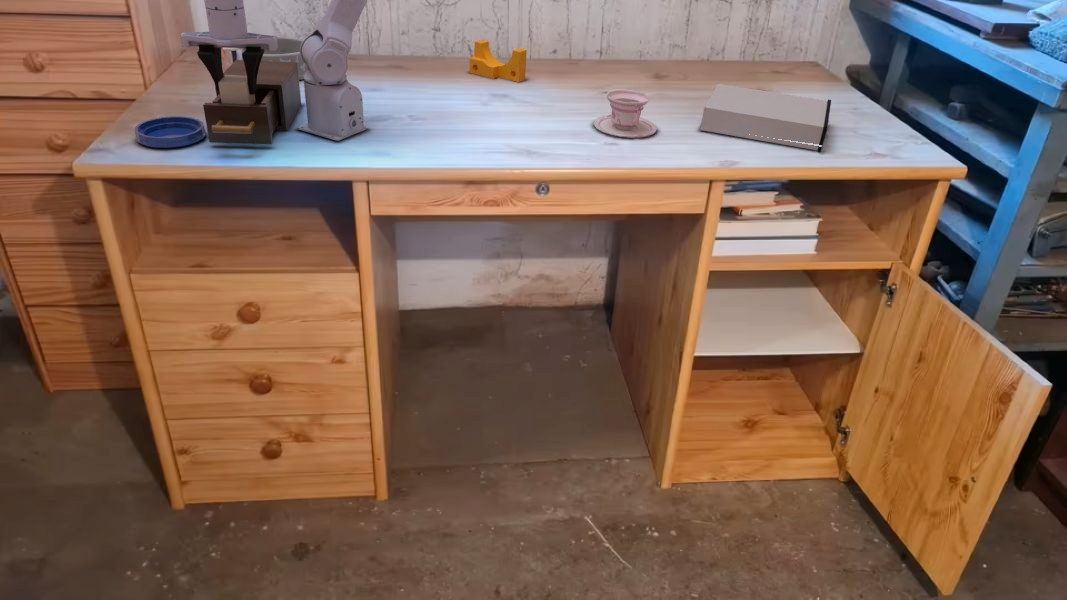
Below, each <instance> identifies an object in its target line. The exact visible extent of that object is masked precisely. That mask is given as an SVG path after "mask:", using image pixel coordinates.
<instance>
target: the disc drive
mask: <svg viewBox="0 0 1067 600" xmlns="http://www.w3.org/2000/svg"><path fill="white" fill-rule="evenodd" d="M831 105H832V99H827V100H825V99H819V98H811V97H805V96H798V95H793V94H792V95H791V94H787V93H780V92H773V91H767V90H760V89H754V88H747V87H743V86H735V85H728V84H722V83H717V85H716V87H715V89H714V90H713V92H712V93H711V95H710V97H709V98H708V101H707V102H706V103H705V105H704V106H703V112H702V118H701V123H700V129H699V130H700V131H705V132H710V133H717V134H721V135H727V136H732V137H733V136H734V137H738V138H745V139H749V140H756V141H762V142H766V143H767V142H768V143H774V144H778V145H785V146H791V147H796V148H803V149H808V150H813V151H816V153H821V152H822V149H823V146H822V147H819V146H814V145H808V144H802V143H796V142H790V141H784V140H791V141H798V142H805V143H813V144H819V145H824V142H825V139H826V135H827V132H828V127H829V119H830V112H831ZM749 134H750V135H749ZM755 135H757V136H755ZM761 136H763V137H761ZM767 137H769V138H767ZM773 138H775V139H773ZM778 139H782V140H778Z"/></svg>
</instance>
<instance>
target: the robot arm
mask: <svg viewBox="0 0 1067 600" xmlns="http://www.w3.org/2000/svg"><path fill="white" fill-rule="evenodd" d="M203 2H204V7H205V14H206V20H207V26H208V31H184V32H182V33H180V42H181V48H190V47H194V48H195V47H197V48H198V51H197V52H196V54H197V57H198V59H199V60H200V62H201V63H202V64H203V65H204V67H205V68H206V70H207V71H208V73H209V75H210V78H211V79H212V81H213V83H214V86H215V85H216V88H217V91H218V93H220V91H219V84H218V82H219V81H220V80H221V79H222V78H223V77H224V74H223V73H224V68H223V62H222V57H221V48H245V49H246V51H244V52H243V53H242V57H243V61H244V65H245V69H246V74H247V82H248V89H249V94H250V95H254V94H255V92H256V83H257V75H258V70H259V66H260V62H261V59H262V56H263V54H264V50H265V49H269V50H270V51H276V50H277V48H278V43H277V35H269V34H261V33H254V32H248V26H247V18H246V11H245V3H244V0H204V1H203ZM367 2H368V0H330V3H329V5H328V7H327V9H326V12H325V13H324V15H323V17H321V19H320V20H319V21H318V22H317V23H316V25H315V26H314V29H313V30H312V31H311V33H310V34H308V35H306V36H305V38H304V39H302V40H303V42H302V44H301V47H300V55H301V58H302V60H303V61H304V63H305V64H306V65H307V66H308V68H307V70H306V73H305V74H304V76H303V78H304V79H303V88H304V98H305V99H304V100H305V108H306V118H307V122H306V123H303V124H301V125H298V126H297V127H296V128H297V130H298V131H302V132H305V133H309V134H312V135H314V136H315V135H316V136H319V137H322V138H326V139H329V140H333V141H337V142H338V141H341V140H343V139H346V138H349V137H352V136H353V135H356V134H358V133H361V132H364V131H365V130H367V129H368V126H367V125H365V121H364V103H363V95H362V92H361V90H360V89H359V87H357V86H355V85H353V84H352V83H350V82H349V81H348V79H347V78H348V77H347V71H348V67H349V66H348V64H349V63H348V62H349V61H348V59H349V54H350V52H351V49H352V43H353V32H354V30H355V28H356V26H357V24H358V22H359V19H360V17H361V16H362V12H363V11H364V9H365V6H366V4H367Z"/></svg>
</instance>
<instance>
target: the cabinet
mask: <svg viewBox="0 0 1067 600" xmlns="http://www.w3.org/2000/svg"><path fill="white" fill-rule="evenodd" d="M223 74H224V76H225V75H240V76H247V74H246V69H245V65H244V61H243V60H235V61H234V62H233V63H232V65H231V66H230V67H229V68H228V69H227V70H226V71H223ZM214 88H215V95H216V97H217V96H218V95H219V94H220V93H218V91H217V88H216V85H215V84H214ZM256 88H262V89H278V98H279V107H280V115H281V120H280V122H279V123H278V125H277V126H276V128H275V130H274V131H288V129H289V127H290V126H291V124H292V122H293V120H294V118H295V117H296V116H297V114H298V112H299V111H300V108H301V107H302V99H301V89H300V88H301V87H300V80H299V76H298V67H297V62H274V61H261V62H260V66H259V70H258V75H257V83H256Z"/></svg>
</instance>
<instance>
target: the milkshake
mask: <svg viewBox="0 0 1067 600" xmlns="http://www.w3.org/2000/svg"><path fill="white" fill-rule="evenodd" d="M243 52H244V48H221V57H222V68H223V72H225V71H226V70H227V69H228V68H229V67H230V66H231V65H232V63H233V62H234V61H235V60H243V57H242V53H243Z"/></svg>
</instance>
